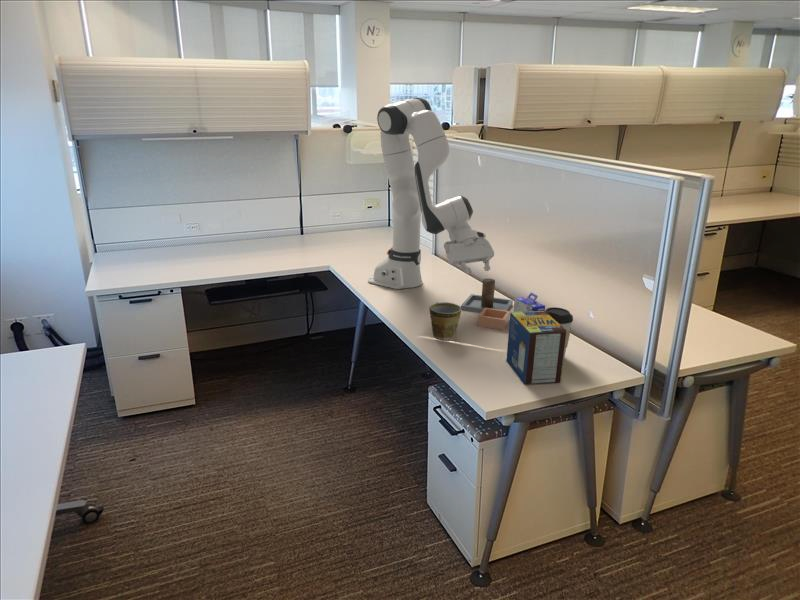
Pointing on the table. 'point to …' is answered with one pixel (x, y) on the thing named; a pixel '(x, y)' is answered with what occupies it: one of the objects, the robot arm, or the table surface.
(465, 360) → the table surface
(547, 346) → the protein box
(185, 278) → the table surface
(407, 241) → the robot arm
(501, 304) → the tray
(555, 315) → the coffee cup
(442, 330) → the ceramic cup
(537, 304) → the ink cartridge box
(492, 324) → the holder cup
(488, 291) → the canister
